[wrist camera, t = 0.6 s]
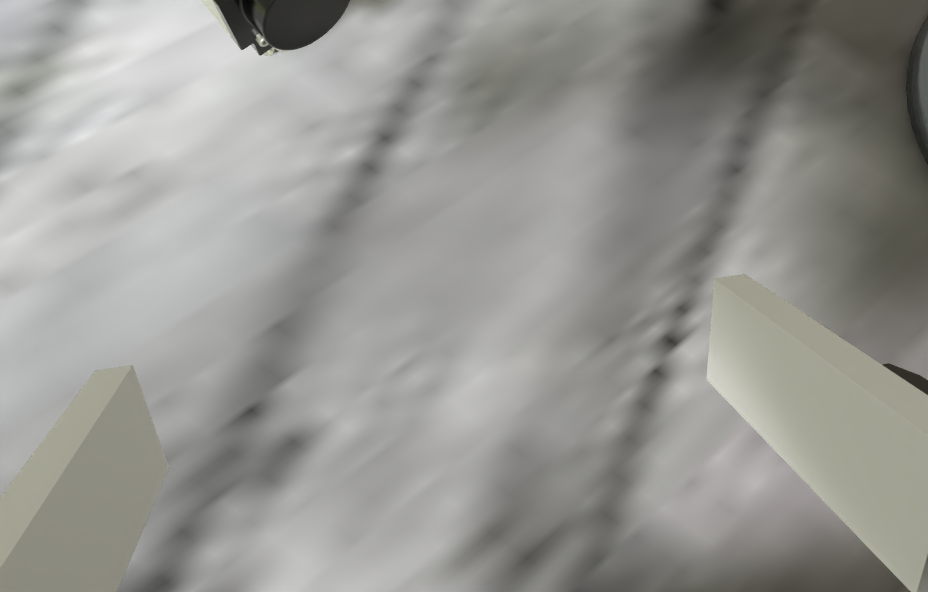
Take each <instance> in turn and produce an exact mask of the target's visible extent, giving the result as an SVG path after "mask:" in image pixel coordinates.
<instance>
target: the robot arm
mask: <svg viewBox="0 0 928 592" xmlns="http://www.w3.org/2000/svg"><path fill="white" fill-rule="evenodd" d="M707 380H708V381H709V382H710V383H711V385H712V386H713V387H714V388H715V389H716V390H717V391H718V392H719V393H720V394H721V395H722V396H723V397H724V398H725V399H726V400H727V401H728V402H729V403H730V404H731V405H732V406H733V407H734V408H735V409H736V411H737V412H738V413H739V414H740V415H741V416H742V417H743V418H744V419H745V420H746V421H747V422H748V423H749V424H750V425H751V426H752V427H753V428H754V429H755V430H756V431H757V432H758V433H759V434H760V435H761V436H762V438H763V439H764V440H765V441H766V442H767V443H768V444H769V445H770V446H771V447H772V448H773V449H774V450H775V451H776V452H777V453H778V454H779V455H780V456H781V457H782V458H783V459H784V460H785V461H786V462H787V464H788V465H789V466H790V467H791V468H792V469H793V470H794V471H795V472H796V473H797V474H798V475H799V476H800V477H801V478H802V479H803V480H804V481H805V482H806V483H807V484H808V485H809V486H810V487H811V488H812V490H813V491H814V492H815V493H816V494H817V495H818V496H819V497H820V498H821V499H822V500H823V501H824V502H825V503H826V504H827V505H828V506H829V507H830V508H831V509H832V510H833V511H834V512H835V513H836V514H837V515H838V517H839V518H840V519H841V520H842V521H843V522H844V523H845V524H846V525H847V526H848V527H849V528H850V529H851V530H852V531H853V532H854V533H855V534H856V535H857V536H858V537H859V538H860V539H861V540H862V541H863V543H864V544H865V545H866V546H867V547H868V548H869V549H870V550H871V551H872V552H873V553H874V554H875V555H876V556H877V557H878V558H879V559H880V560H881V561H882V562H883V563H884V564H885V565H886V566H887V567H888V569H889V570H890V571H891V572H892V573H893V574H894V575H895V576H896V577H897V578H898V579H899V580H900V581H901V582H902V583H903V584H904V585H905V586H906V587H907V588H908V589H909V590H910V591H911V592H928V380H926V379H925V378H923V377H922V376H920V375H917V374H915V373H912V372H910V371H907V370H904V369H902V368H899V367H897V366H894V365H891V364H883V365H881V364H880V363H878V362H877V361H875V360H874V359H872V358H871V357H869V356H868V355H866V354H865V353H863V352H862V351H860V350H859V349H857V348H856V347H854V346H853V345H851V344H850V343H848V342H847V341H845V340H844V339H842V338H841V337H839V336H838V335H836V334H835V333H833V332H832V331H830V330H829V329H827V328H826V327H824V326H823V325H821V324H819V323H818V322H816V321H815V320H813V319H812V318H810V317H809V316H807V315H806V314H804V313H803V312H801V311H800V310H798V309H797V308H795V307H794V306H792V305H791V304H789V303H788V302H786V301H785V300H783V299H782V298H780V297H779V296H777V295H776V294H774V293H773V292H771V291H770V290H768V289H767V288H765V287H764V286H762V285H761V284H759V283H758V282H756V281H755V280H753V279H752V278H750V277H749V276H747V275H746V274H743V275H737V276H730V277H723V278H717V279H714V290H713V303H712V316H711V329H710V342H709V355H708V368H707ZM168 469H169V467H168V464H167V461H166V458H165V455H164V453H163V450H162V447H161V444H160V441H159V438H158V436H157V433H156V430H155V427H154V424H153V421H152V419H151V416H150V413H149V410H148V407H147V404H146V402H145V399H144V396H143V393H142V390H141V387H140V385H139V382H138V379H137V376H136V373H135V370H134V368H133V365H131V366H125V367H118V368H111V369H105V370H98V371H95V372H94V373H93V375H92V376H91V377H90V379H89V380H88V381H87V383H86V384H85V385H84V387H83V388H82V389H81V391H80V392H79V393H78V395H77V396H76V397H75V399H74V400H73V401H72V403H71V404H70V405H69V407H68V408H67V409H66V411H65V412H64V413H63V415H62V416H61V417H60V419H59V420H58V421H57V423H56V424H55V425H54V427H53V428H52V429H51V431H50V432H49V433H48V435H47V436H46V437H45V439H44V440H43V441H42V443H41V444H40V445H39V447H38V448H37V449H36V451H35V452H34V453H33V455H32V456H31V457H30V459H29V460H28V461H27V463H26V464H25V465H24V467H23V468H22V469H21V471H20V472H19V473H18V475H17V476H16V477H15V479H14V480H13V481H12V483H11V484H10V485H9V487H8V488H7V490H6V491H5V492H4V494H3V495H2V496H1V498H0V592H117V590H118V588H119V585H120V583H121V581H122V578H123V576H124V573H125V571H126V569H127V566H128V564H129V562H130V559H131V557H132V555H133V552H134V550H135V547H136V545H137V543H138V540H139V538H140V536H141V533H142V531H143V529H144V526H145V524H146V521H147V519H148V517H149V514H150V512H151V510H152V507H153V505H154V503H155V500H156V498H157V495H158V493H159V491H160V488H161V486H162V484H163V481H164V479H165V476H166V474H167V472H168Z"/></svg>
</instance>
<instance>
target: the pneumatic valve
mask: <svg viewBox="0 0 928 592" xmlns="http://www.w3.org/2000/svg"><path fill="white" fill-rule="evenodd" d="M202 1H203V3H204V4H205V5H206V6H207V8H208V9H209V10H210V11H211V13H212V14H213V15H214V16H215V18H216V19H217V20H218V21H219V23H220V24H221V25H222V26H223V28H224V29H225V30H226V31H227V33H228V34H229V35H230V36H231V38H232V39H233V40H234V41H235V43H236V44H237V45H238V46H239V48H240V49H241V50H243V49H245V48H246V47H248V46H249V45H252V47H253V48H254V49H255V50H256V51H257V53H258V54H259V55H262V54H264V55H265V56H271V55H273V53H274V49H276V50H278V51H282V52H283V51H289V50H295V49H299V48H302V47H304V46H307V45H309V44H311V43H313V42H314V41H316V40H318V39H319V38H321V37H322V36H323V35H324V34H326V33H327V32H328V31H329V30H330V29H331V28H332V27H333V26H334V25H335V24H336V23H337V22H338V20H339V19H340V18H341V16H342V15H343V13H344V12H345V10H346V8H347V6H348V4H349V2H350V0H202Z"/></svg>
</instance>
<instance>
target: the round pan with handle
mask: <svg viewBox="0 0 928 592" xmlns="http://www.w3.org/2000/svg"><path fill="white" fill-rule="evenodd" d="M906 91H907V103H908V111H909V115H910V120H911V124H912V128H913V131H914V134H915V137H916V140H917V142H918V145H919V147H920V149H921V151H922V153H923V155H924V158H925V160H926V162H927V164H928V18H927V20H926V21H925V22H924V24H923V26H922V28H921V30H920V32H919V33H918V35H917V37H916V40H915V43H914V46H913V48H912V51H911V55H910V60H909V65H908V70H907V86H906Z"/></svg>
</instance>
